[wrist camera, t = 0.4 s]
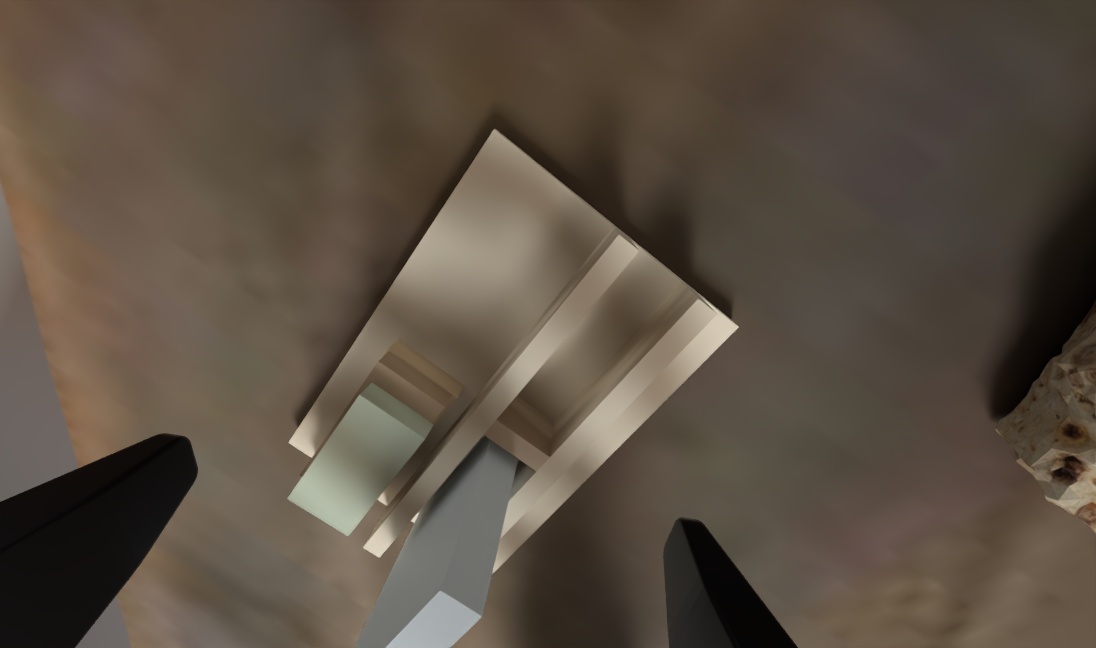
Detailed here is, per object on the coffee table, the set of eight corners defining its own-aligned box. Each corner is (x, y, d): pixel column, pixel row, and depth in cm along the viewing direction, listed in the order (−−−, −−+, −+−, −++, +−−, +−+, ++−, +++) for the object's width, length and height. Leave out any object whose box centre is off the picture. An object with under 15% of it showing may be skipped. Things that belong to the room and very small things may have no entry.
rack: (496, 559, 27) (482, 621, 24) (299, 432, 26) (249, 478, 22) (731, 320, 21) (763, 351, 18) (498, 131, 20) (478, 120, 16)
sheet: (441, 528, 26) (359, 734, 16) (418, 513, 25) (321, 714, 16) (523, 437, 23) (482, 616, 14) (498, 419, 23) (440, 590, 14)
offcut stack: (377, 495, 25) (345, 545, 22) (317, 456, 25) (274, 502, 21) (464, 385, 23) (443, 423, 19) (398, 339, 22) (364, 369, 19)
